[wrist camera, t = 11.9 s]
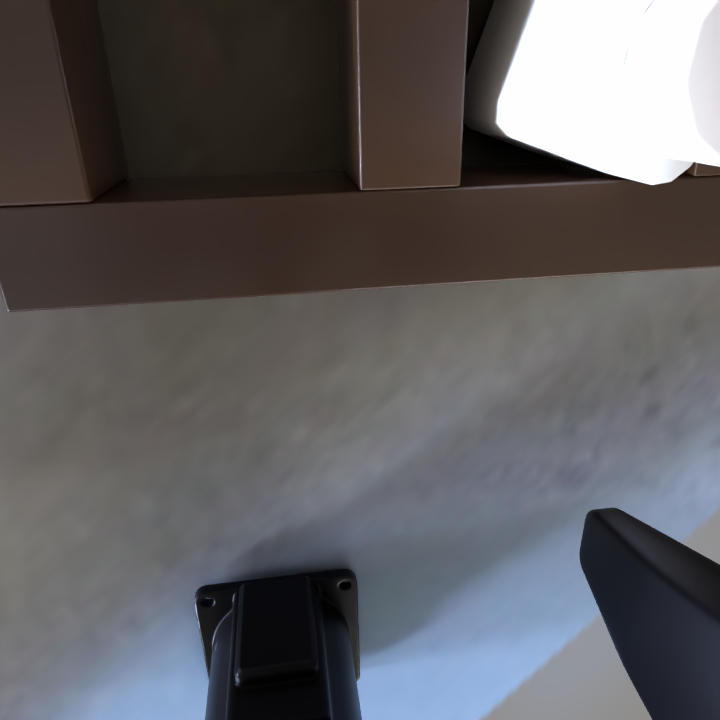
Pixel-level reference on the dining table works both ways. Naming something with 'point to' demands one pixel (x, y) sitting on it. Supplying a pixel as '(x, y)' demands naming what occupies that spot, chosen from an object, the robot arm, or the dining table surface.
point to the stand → (306, 184)
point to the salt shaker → (601, 83)
